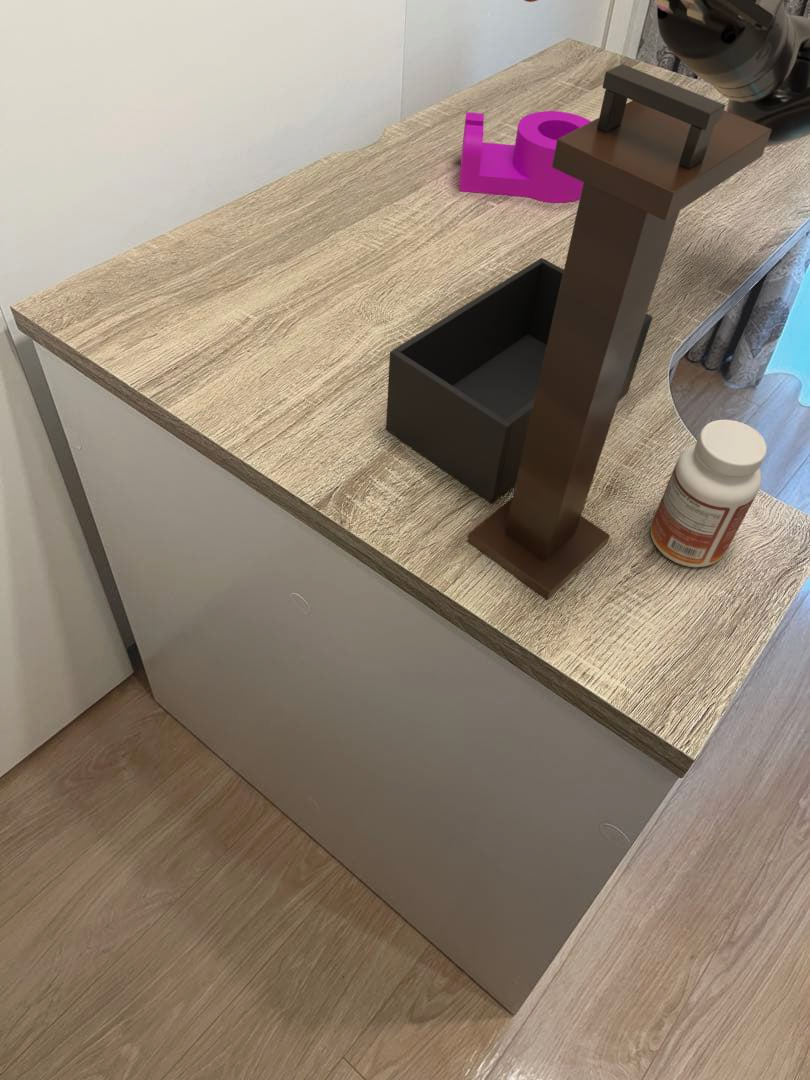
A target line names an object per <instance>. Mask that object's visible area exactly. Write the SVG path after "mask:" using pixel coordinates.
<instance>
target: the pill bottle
mask: <svg viewBox="0 0 810 1080" xmlns="http://www.w3.org/2000/svg"><path fill="white" fill-rule="evenodd" d="M767 449H768V447H767V443H766V440H765V438H763V436H762V434H761V433H760V432H758V431H757V430H756V429H755V428H754V427H752V426H750V425H748V424H746V423H744V422H740V421H737V420H732V419H717V420H713V421H711V422H709V423H707V424H706V425H705V426H704V427H703V428H702V429H701V431H700V433H699V435H698V438H697V440H696V442H694V443H692V444H691V445H689V446H687V447H686V448H685V449H683V450H682V452H681V453H680V454H679V457H678V459H677V461H676V462H675V466H674V468H673V471H672V473H671V475H670V478H669V480H668V482H667V485H666V487H665V490H664V492H663V494H662V496H661V499H660V501H659V504H658V507H657V509H656V512H655V513H654V515H653V516H654V517H653V519H652V522H651V525H650V536H651V539H652V542H653V544H654V546H655V547H656V549H658V550H659V552H660V553H661V554H662V555H663V556H665V558H667V559H668V560H670V561H672V562H674V563H676V564H679V565H681V566H685V567H689V568H690V567H691V568H703V567H707V566H711V565H713V564H715V563H716V562H718V561H720V560H721V559H722V558H723V557H724V556H725V554H726V552H727V551H728V550H729V547H730V546H731V544H732V543H733V540H734V538H735V536H736V534H737V532H738V530H739V528H740V527H741V525H742V523H743V521H744V519H745V517H746V516H747V513H748V511H749V509H750V508H751V506H752V504H753V503H754V500H755V498H756V497H757V495H758V493H759V490H760V488H761V485H762V472H761V466H762V463H763V461H764V459H765V457H766V455H767V451H768V450H767Z"/></svg>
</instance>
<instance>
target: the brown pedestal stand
mask: <svg viewBox="0 0 810 1080" xmlns="http://www.w3.org/2000/svg"><path fill="white" fill-rule="evenodd" d="M602 89H604V95H603V100H602V103H601V108H600V113H599V117H598V118H596V119H594V120H592V121H591V122H590V123H588V124H586V125H584V126H582V127H580V128H578V129H576V130H574V131H572V132H570V133H569V134H567V135H565V136H563V137H561V138H559V139H557V143H556V148H555V153H554V158H553V164H552V167H553V168H555V169H557V170H559V171H561V172H563V173H565V174H567V175H569V176H572V177H574V178H576V179H578V180H580V181H582V182H584V183H583V188H582V192H581V196H580V199H579V202H578V206H577V210H576V215H575V218H574V219H575V220H574V224H573V228H572V232H571V237H570V241H569V245H568V246H569V247H568V250H567V253H566V259H565V262H564V263H565V264H564V268H563V269H564V272H563V276H562V281H561V285H560V290H559V294H558V299H557V303H556V307H555V312H554V316H553V321H552V325H551V330H550V334H549V339H548V343H547V347H546V352H545V356H544V361H543V365H542V370H541V374H540V378H539V383H538V387H537V392H536V396H535V401H534V405H533V410H532V414H531V418H530V423H529V427H528V432H527V436H526V441H525V445H524V450H523V454H522V458H521V463H520V467H519V472H518V476H517V481H516V484H515V485H514V490H513V494H512V497H511V498H510V499H508V501H506V502H505V503H504V504H503V505H502V506H500V507H498V509H497V510H495V511H494V512H493V513H492V514H490V515H489V516H487V518H485V519H484V520H483V521H482V522H481V523H479V524H478V525H477V526H476V527H475V528H473V530H471V531H470V532H469V533H468V535H467V542H468V543H469V544H471V545H472V546H473V547H474V548H476V549H477V550H479V551H480V552H481V553H483V554H484V555H486V556H487V557H488V558H490V559H491V560H492V561H494V562H495V563H496V564H498V565H499V566H500V567H502V568H503V569H505V570H506V572H508V573H510V574H512V575H513V576H514V577H516V579H518V580H519V581H521V582H522V583H524V584H525V585H526V586H528V587H529V588H530V589H532V590H533V591H535V592H536V593H537V594H539V595H540V596H542V597H543V598H544V599H545V600H549V599H550V598H551V597H552V596H553V595H554V594H555V593H556V592H557V591H558V590H559V589H560V588H561V587H562V586H563V585H564V584H566V583H567V582H568V581H569V580H570V579H571V578H572V577H573V576H574V575H575V574H576V573H577V572H579V570H580V569H581V568H582V567H584V565H586V563H588V562H589V561H590V560H591V559H592V558H593V557H594V556H595V555H596V554H597V553H598V552H599V551H601V549H602V548H603V547H604V546H605V545H607V544H608V541H609V539H610V534H609V533H607V532H606V531H604V530H603V529H602V528H601V527H599V526H598V525H595V524H594V523H593V522H591V521H590V520H588V519H586V518H585V517H583V516H582V514H583V510H584V508H585V504H586V502H587V498H588V497H589V492H590V490H591V486H592V483H593V480H594V477H595V473H596V471H597V469H598V468H597V467H598V464H599V461H600V458H601V455H602V453H603V449H604V445H605V443H606V440H607V436H608V433H609V431H610V428H611V424H612V421H613V418H614V415H615V412H616V408H617V406H618V403H619V401H620V399H619V397H620V394H621V390H622V387H623V384H624V381H625V378H626V375H627V372H628V369H629V366H630V363H631V360H632V356H633V353H634V350H635V347H636V344H637V341H638V338H639V335H640V332H641V329H642V325H643V322H644V319H645V316H646V314H648V310H649V307H650V303H651V300H652V297H653V294H654V291H655V288H656V285H657V282H658V279H659V277H660V273H661V269H662V266H663V263H664V260H665V257H666V254H667V251H668V248H669V245H670V241H671V238H672V235H673V233H674V229H675V227H676V223H677V220H678V218H679V217H678V216H679V214H680V211H682V210H683V209H685V208H686V207H687V206H689V205H691V204H692V203H694V202H695V201H697V200H698V199H700V198H702V197H703V196H704V195H705V194H707V193H709V192H710V191H712V190H714V189H716V188H717V187H718V186H720V185H721V184H722V183H724V182H725V181H727V180H728V179H729V178H731V177H732V176H734V175H736V174H737V173H739V172H741V171H742V170H744V169H745V168H747V167H749V166H750V165H751V164H752V163H754V162H756V161H757V160H759V159H760V158H762V157H763V155H764V152H765V150H766V148H767V147H766V144H767V141H768V139H769V136H770V134H771V131H772V129H769V128H767V127H764V126H762V125H759V124H757V123H754V122H752V121H749V120H747V119H744V118H742V117H739V116H737V115H734V114H732V113H729V112H727V110H725V108H726V104H724V103H722V102H719V101H717V100H714V99H711V98H709V97H707V96H704V95H702V94H700V93H696V92H694V91H691V90H689V89H687V88H684V87H681V86H679V85H676V84H674V83H672V82H669V81H667V80H664V79H661V78H659V77H656V76H654V75H652V74H649V73H646V72H644V71H642V70H639V69H636V68H634V67H631V66H629V65H626V64H624V63H621V64H619V65H617V66H615V67H613V68H611V69H608V70H606V71H605V73H604V78H603V83H602ZM628 100H631V101H628Z"/></svg>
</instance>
